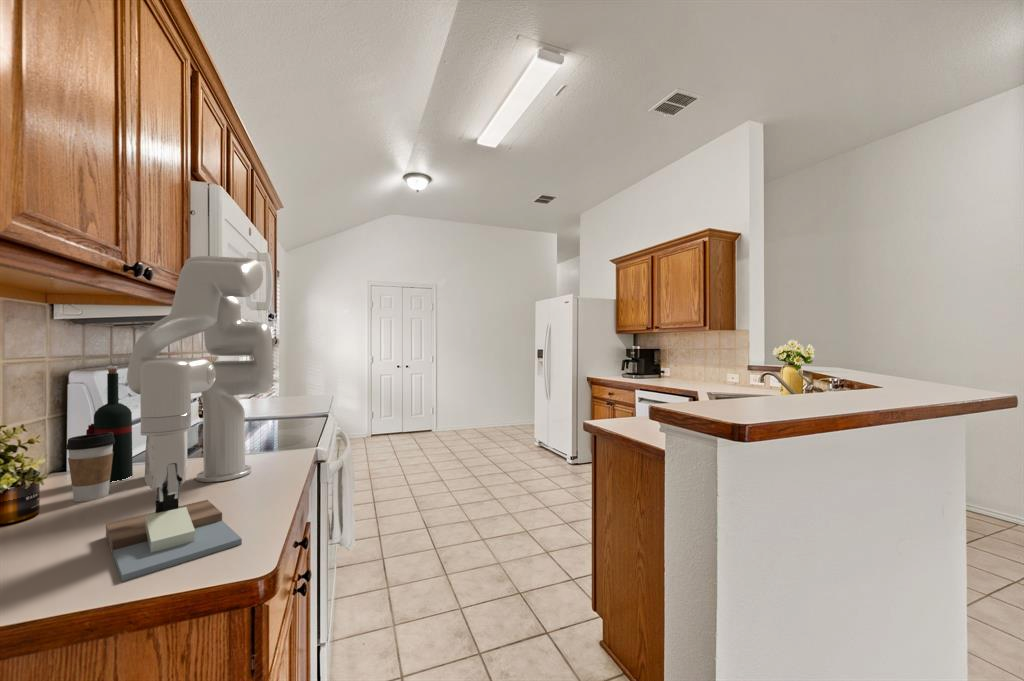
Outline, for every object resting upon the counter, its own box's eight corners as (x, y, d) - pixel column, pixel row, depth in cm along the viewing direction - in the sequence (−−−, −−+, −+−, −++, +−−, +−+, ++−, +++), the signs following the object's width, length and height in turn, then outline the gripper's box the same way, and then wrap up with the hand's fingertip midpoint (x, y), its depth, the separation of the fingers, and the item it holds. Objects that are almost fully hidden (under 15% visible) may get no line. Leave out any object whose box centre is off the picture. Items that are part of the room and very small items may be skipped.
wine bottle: (85, 480, 115) (84, 369, 116) (135, 473, 121) (134, 367, 121) (76, 488, 109) (76, 370, 109) (129, 480, 114) (129, 368, 115)
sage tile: (144, 525, 78) (145, 515, 78) (185, 516, 82) (186, 506, 82) (150, 552, 72) (151, 541, 72) (194, 540, 76) (195, 530, 76)
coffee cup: (99, 502, 99) (99, 437, 99) (55, 505, 97) (55, 439, 97) (124, 489, 107) (123, 430, 107) (83, 492, 105) (83, 432, 105)
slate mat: (112, 556, 73) (112, 550, 73) (222, 525, 85) (222, 520, 85) (122, 581, 65) (122, 575, 65) (241, 544, 77) (241, 538, 77)
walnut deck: (105, 536, 81) (105, 523, 81) (207, 511, 92) (207, 499, 92) (112, 555, 73) (112, 541, 73) (222, 525, 85) (222, 512, 85)
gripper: (134, 422, 84) (135, 516, 84) (147, 432, 74) (148, 538, 74) (182, 417, 90) (182, 505, 89) (200, 426, 79) (200, 524, 79)
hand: (167, 519), depth 82 cm, fingers closed
